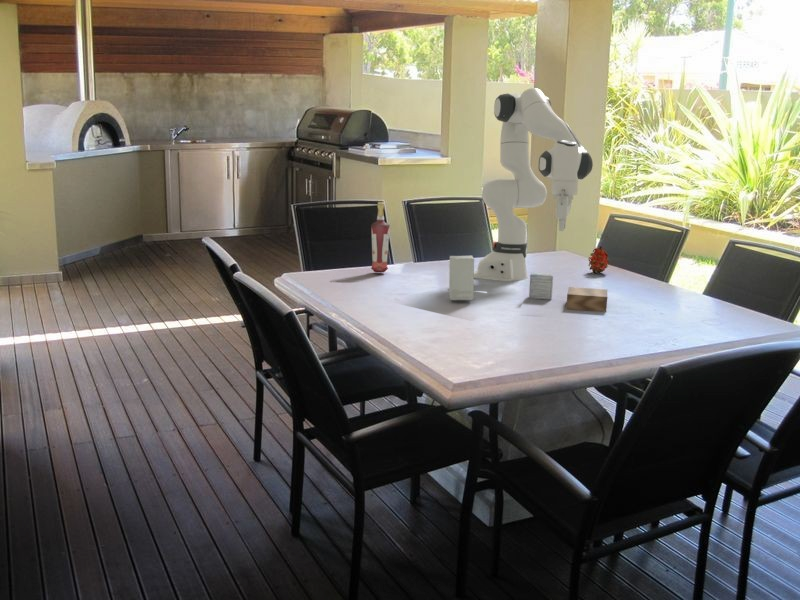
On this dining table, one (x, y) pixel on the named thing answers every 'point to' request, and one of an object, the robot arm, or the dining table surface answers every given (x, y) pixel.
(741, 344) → the dining table surface
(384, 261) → the liquor
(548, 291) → the grey streaked block
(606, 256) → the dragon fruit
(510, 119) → the robot arm
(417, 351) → the dining table surface
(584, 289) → the walnut block
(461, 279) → the skincare box
